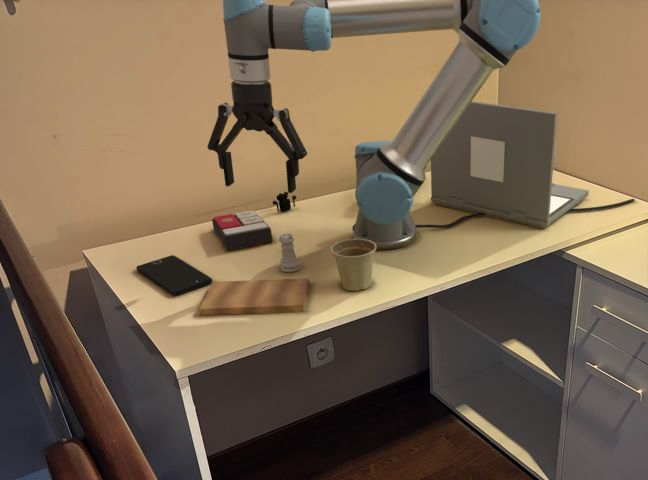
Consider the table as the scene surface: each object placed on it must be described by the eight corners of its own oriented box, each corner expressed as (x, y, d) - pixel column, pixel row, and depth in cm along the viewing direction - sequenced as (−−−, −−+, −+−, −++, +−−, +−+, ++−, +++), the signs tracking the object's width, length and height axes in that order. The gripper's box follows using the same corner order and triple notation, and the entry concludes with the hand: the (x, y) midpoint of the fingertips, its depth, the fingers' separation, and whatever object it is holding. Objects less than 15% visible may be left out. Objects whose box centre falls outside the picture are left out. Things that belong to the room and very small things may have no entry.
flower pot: (335, 275, 149) (331, 239, 144) (379, 274, 150) (376, 237, 145) (333, 295, 141) (329, 257, 136) (378, 294, 142) (376, 255, 137)
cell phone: (173, 258, 157) (172, 254, 156) (213, 282, 146) (212, 278, 145) (136, 270, 151) (135, 266, 151) (174, 296, 141) (173, 292, 140)
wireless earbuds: (275, 214, 180) (272, 196, 177) (270, 212, 182) (268, 194, 179) (298, 208, 184) (296, 190, 181) (293, 206, 186) (291, 188, 183)
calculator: (254, 208, 174) (270, 224, 162) (257, 224, 176) (273, 242, 164) (210, 215, 169) (223, 233, 158) (214, 232, 172) (227, 251, 160)
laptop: (587, 199, 189) (599, 92, 174) (546, 230, 170) (555, 113, 155) (479, 178, 205) (481, 78, 190) (430, 204, 186) (428, 96, 171)
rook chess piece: (304, 266, 153) (300, 233, 149) (293, 274, 149) (288, 240, 145) (288, 263, 154) (283, 230, 150) (276, 271, 151) (271, 237, 147)
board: (309, 284, 145) (309, 278, 145) (304, 311, 135) (303, 304, 135) (214, 287, 144) (213, 281, 143) (201, 315, 134) (199, 308, 133)
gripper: (180, 78, 130) (196, 187, 141) (306, 90, 128) (312, 199, 139) (198, 72, 137) (212, 176, 148) (319, 82, 134) (323, 187, 145)
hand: (260, 187), depth 143 cm, fingers open, 13 cm apart
